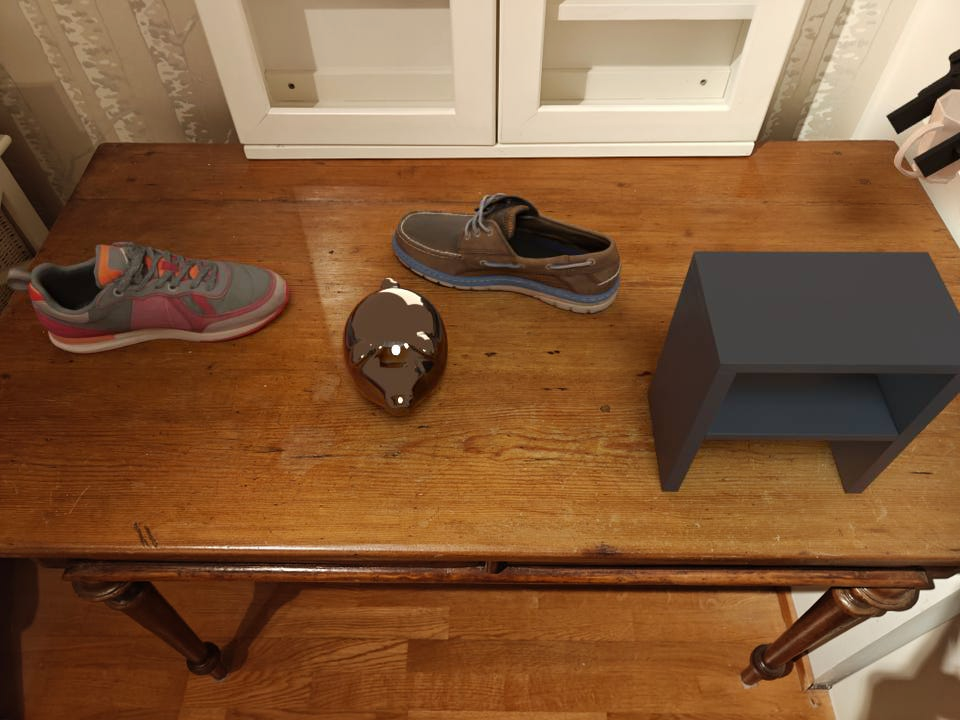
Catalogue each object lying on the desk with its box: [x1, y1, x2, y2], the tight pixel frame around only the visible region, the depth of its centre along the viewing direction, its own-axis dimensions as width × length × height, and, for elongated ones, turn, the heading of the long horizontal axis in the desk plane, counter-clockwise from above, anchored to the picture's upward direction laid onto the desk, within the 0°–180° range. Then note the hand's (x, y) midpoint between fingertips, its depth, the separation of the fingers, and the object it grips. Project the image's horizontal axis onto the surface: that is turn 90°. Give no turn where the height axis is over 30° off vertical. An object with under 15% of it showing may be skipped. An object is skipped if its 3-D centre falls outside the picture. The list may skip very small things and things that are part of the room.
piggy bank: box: [341, 277, 449, 417], centre depth 74 cm, size 11×15×12 cm
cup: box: [893, 89, 960, 185], centre depth 74 cm, size 7×10×8 cm
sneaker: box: [6, 240, 290, 355], centre depth 80 cm, size 10×28×12 cm, turn 102°
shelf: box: [646, 250, 960, 494], centre depth 65 cm, size 20×12×22 cm, turn 89°
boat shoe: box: [391, 192, 622, 314], centre depth 85 cm, size 10×29×11 cm, turn 74°
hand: (905, 146), depth 74 cm, fingers closed on cup, 7 cm apart
